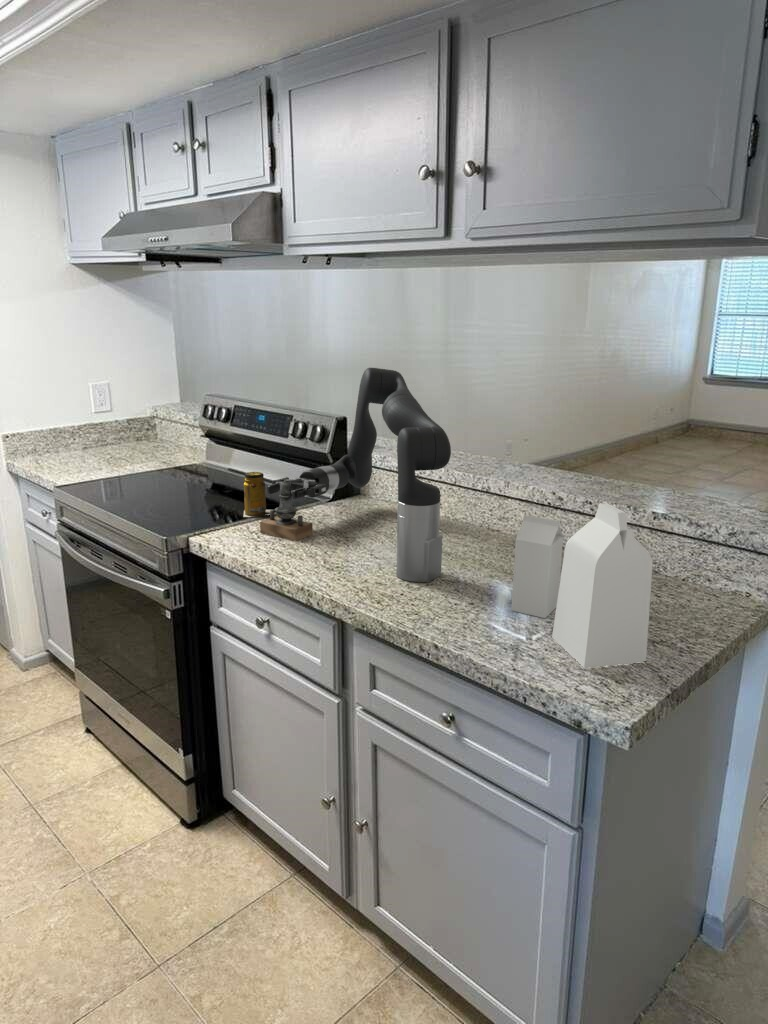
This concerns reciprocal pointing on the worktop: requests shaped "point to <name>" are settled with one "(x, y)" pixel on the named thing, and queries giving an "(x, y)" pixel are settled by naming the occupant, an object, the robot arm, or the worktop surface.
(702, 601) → the worktop surface
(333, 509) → the worktop surface
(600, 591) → the milk
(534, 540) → the milk carton
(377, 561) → the worktop surface
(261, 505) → the condiment
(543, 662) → the worktop surface
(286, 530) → the walnut stand
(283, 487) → the salt shaker
